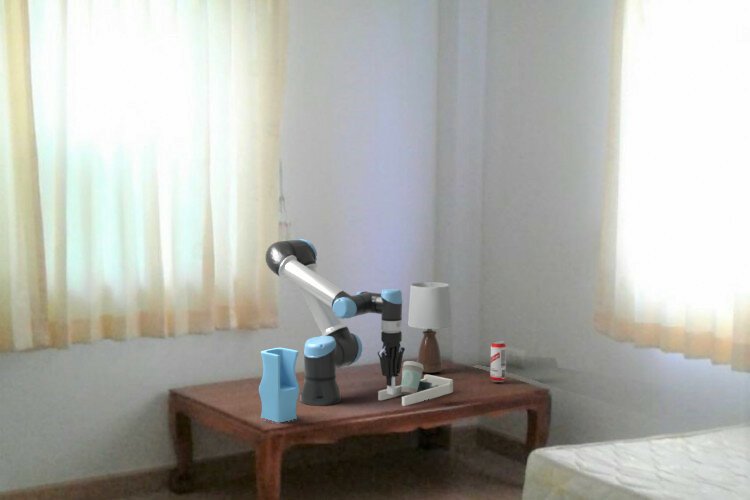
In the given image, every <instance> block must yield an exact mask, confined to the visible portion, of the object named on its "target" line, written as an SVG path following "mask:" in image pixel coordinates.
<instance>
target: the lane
mask: <svg viewBox="0 0 750 500" xmlns="http://www.w3.org/2000/svg"><path fill="white" fill-rule="evenodd" d="M420 381H425V382H430V383H432V386H435V385H438V386H437V387H434V388H430V389H427V390H424V391H420V392H417V393H413V394H410V395H407V396H405V395H403V394H401V384H400V385H395V394H394V395H391V394H387V388H386V389H382V390H378V391H377V400H378V401H384V400H387V399H388V400H389V399H392V398H397V397H400V396H401V406H403V407H405V406H410V405H413V404H417V403H420V402H424V400H425V401H428V399H429V400H433V399H435V398H438V397H441V396H446V395H448V394H449V395H450V394H451V393H453V392H454V380H453V379H452V378H446V377H442V376H437V375H431V374H427V373H426V374H424V376H423V378H421V380H420Z"/></svg>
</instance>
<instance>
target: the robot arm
mask: <svg viewBox="0 0 750 500" xmlns="http://www.w3.org/2000/svg"><path fill="white" fill-rule="evenodd" d="M317 256H318V252H317V250H316V247H315V245H314V244H313V243H312V242H311V241H309V240H307V239H303V238H302V239H301V238H295V239H291V240H281V241H276V242H274V243H272V244H271V245H270V246H269V247H268V248H267V250H266V252H265V262H266V265H267V266H268V268H269V269H270V270H271V272H273V274H275V275H277V276H278V277H280V278H281V279H287V280H289V281H291V282H292V283H294V284H296V286H298V287H299V290H300V292H301V294H302V296H303V298H304V300H305V302H306V304H307V307H308V308H309V311H310V313H311V315H312V317H313V319H314V320H315V323H316V326H317V327H318V329H319V331H320V333H321V335H320V336H314V337H310V338H308V339H307V340H306V342H305V343H304V349H303V350H304V351H303V353H304V354H303V355H304V359H303V360H304V383H303V385H302V389H301V392H300V393H299V394H300V395H299V400H300V403H302V404H304V405H307V404H308V406H317V405H319V406H330V405H334V404H335V405H336V404H338V403H340V402H341V400H342V398H341V392H340V389H339V385H338V381H337V369H340V368H343V367H346V366H351V365H352V364H355V363H356V362H358V361H359V359H360V358H361V356H362V352H363V343H362V341H361V338H360V337H359V336H358V335H357V334H354V333H352V332H351V331H350V329H349V327H348V326H347V325H344V324H342V322H341V319H342V320H344V319H351V318H354V317H358V316H361V315H366V314H379V315H381V316H380V318H381V321H380V323H381V324H380V325H381V326H380V328H381V329H380V330H381V333H380V334H381V336H380V337H381V342H382V349H381V350H380V351H378V352H377V355H378V357H379V363H380V368H381V374H382V376H383V377H386V381H385V384H386V389H387V394H391V395H394V394H395V387H396V385H397V377H399V375H400V374H401V371H402V364H403V355H404V353H405V351H406V348H405V347H403V346H401V342H402V339H403V336H402V334H403V333H402V325H403V324H402V323H403V322H402V319H403V318H402V317H403V314H402V313H403V312H402V310H403V293H402V291H401V290H400V289H399V288H384V289H382V290H381V293H378V292H370V291H369V292H368V291H356V292H355V294H354V295H351V294H349V293H347V292H346V291H344V290H343V289H341V288H340V287H338V286H336V285H335V284H334V283H332V282H330V281H329V280H328V279H326V278H324V277H323V276H321V275H319V274H318V273H317V271H316V270H317V267H318V264H317V261H318V260H317V259H318V258H317Z"/></svg>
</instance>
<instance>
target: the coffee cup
mask: <svg viewBox="0 0 750 500" xmlns="http://www.w3.org/2000/svg"><path fill="white" fill-rule="evenodd" d="M423 371H424V368H423V365H422V364H421V363H418V362H417V361H415V360H414V361H413V360H407V361H404V362H403V363H402V364H401V384H400V385H401V394H403V395H402V396H407V395H410V394H413V393H417V390H418V387H419V383H420V380H421V379H422V375H423V373H424V372H423Z"/></svg>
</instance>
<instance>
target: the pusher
mask: <svg viewBox="0 0 750 500" xmlns="http://www.w3.org/2000/svg"><path fill="white" fill-rule="evenodd" d="M437 386H438V385H435V386H432V383H430V382H425V381H420V383H419V387H418V390H417V392H420V391H424V390H427V389H430V388H434V387H437Z"/></svg>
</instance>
